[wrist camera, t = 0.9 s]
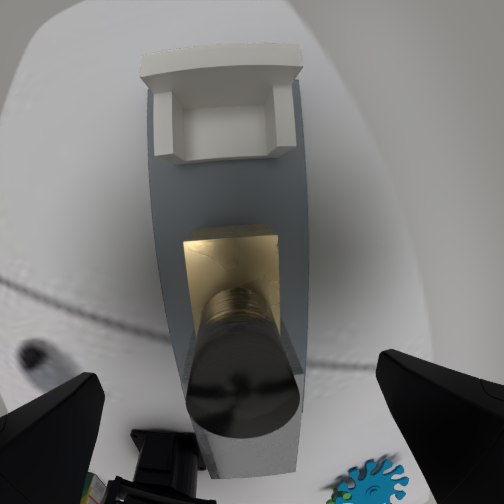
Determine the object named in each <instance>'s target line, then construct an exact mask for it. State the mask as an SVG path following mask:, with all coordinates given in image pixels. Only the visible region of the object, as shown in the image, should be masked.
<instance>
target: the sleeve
mask: <svg viewBox="0 0 504 504" xmlns="http://www.w3.org/2000/svg"><path fill="white" fill-rule="evenodd" d="M280 337H281V339H282V342H283V345H284V348H285V351H286V354H287V357H288V360H289V363H290V366H291V369H292V371H293V374H294V377H295V380H296V383H297V386H298V389H299V393H300V403H299V407H298V410H297V411H296V413H295V415H294V416H293V417H292V419H291V420H290V421H289V422H288V423H286V424H285V425H284V426H283V427H281V428H279V429H278V430H276V431H274V432H272V433H269V434H267V435H263V436H260V437H255V438H247V439H234V438H227V437H222V436H219V435H216V434H213V433H211V432H208V431H207V430H205V429H203V428H202V427H200V426H199V425H198V424H197V423H196V422H195V421H194V420H193V419H192V418H191V416H190V418H191V421H192V425H193V428H194V431H195V434H196V437H197V440H198V443H199V446H200V449H201V452H202V455H203V458H204V461H205V463H206V466H207V469H208V471H209V474H210V477H211V479H229V478H248V477H260V476H269V475H277V474H285V473H291V472H295V471H296V463H297V454H298V445H299V435H300V425H301V413H302V400H303V386H304V372H303V370H302V367H301V365H300V362H299V360H298V357H297V355H296V352H295V350H294V347H293V345H292V342H291V340H290V337H289V335H288V332H287V330H286V327H285V325H284V322H283V320H282V317H281V315H280ZM195 345H196V333H195V326H194V327H193V331H192V335H191V340H190V344H189V348H188V353H187V357H186V362H185V366H184V371H183V375H182V380H181V386H182V390H183V394H184V397H185V401H186V394H187V388H188V382H189V377H190V371H191V366H192V360H193V355H194V350H195Z"/></svg>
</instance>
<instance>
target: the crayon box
mask: <svg viewBox="0 0 504 504" xmlns="http://www.w3.org/2000/svg"><path fill="white" fill-rule="evenodd" d="M105 491H106V487H105V486H104V484H103V483H102V482H101V481H100V480H99V479H98V478H97V476H96V475H95V474H92V473H87V477H86V481H85V485H84V489H83V494H82V498H81V503H80V504H100V502H101V500H102V498H103V496H104V493H105Z"/></svg>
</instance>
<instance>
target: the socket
mask: <svg viewBox="0 0 504 504" xmlns="http://www.w3.org/2000/svg"><path fill="white" fill-rule="evenodd" d="M302 68H303V61H302V54H301V47H300V45H294V44H276V43H235V44H217V45H204V46H195V47H186V48H179V49H172V50H166V51H160V52H155V53H150V54H145V55H141V67H140V78H141V79H142V80H143V82H144V83H145V84H146V85H147V86H148V88H149V89H150V90H151V91H152V93H153V94H154V103H153V125H154V156H156V157H158V158H160V159H163V160H165V161H167V162H170V163H172V164H174V165H179V164H188V163H198V162H210V161H223V160H238V159H258V158H279V157H280V156H282V155H283V154H285V153H286V152H288V151H290V150H291V149H293V148H294V147H296V146H297V144H296V130H295V118H294V106H293V95H292V83H293V82H294V80H295V78H296V77H297V75H298V74H299V72H300V71H301V69H302Z"/></svg>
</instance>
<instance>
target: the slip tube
mask: <svg viewBox="0 0 504 504" xmlns="http://www.w3.org/2000/svg"><path fill="white" fill-rule="evenodd" d="M183 243H184V253H185V261H186V270H187V278H188V285H189V293H190V300H191V307H192V314H193V320H194V326H195V333H196V345H195V350H194V355H193V360H192V366H191V371H190V377H189V382H188V388H187V394H186V407H187V410H188V413H189V415H190V416H191V418H192V419H193V420H194V421H195V422H196V423H197V424H198V425H199V426H200V427H202V428H203V429H205V430H207V431H208V432H211V433H213V434H216V435H219V436H222V437H227V438H234V439H247V438H255V437H260V436H263V435H267V434H269V433H272V432H274V431H276V430H278V429H279V428H281V427H283V426H284V425H285V424H286V423H288V422H289V421H290V420H291V419H292V417H293V416H294V415H295V413H296V411H297V410H298V407H299V403H300V393H299V389H298V386H297V383H296V380H295V377H294V374H293V371H292V369H291V366H290V363H289V360H288V357H287V354H286V351H285V348H284V345H283V342H282V339H281V337H280V290H279V256H278V235H277V234H276V233H275V232H274V231H273V230H272V229H271V228H270V227H269V226H268V225H267V224H266V223H264V224H249V225H234V226H220V227H207V228H195V229H194V230H193V231H192V232H191V233H190V235H189V236H188V237H187V238H186V239H185V240H184V242H183Z"/></svg>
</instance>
